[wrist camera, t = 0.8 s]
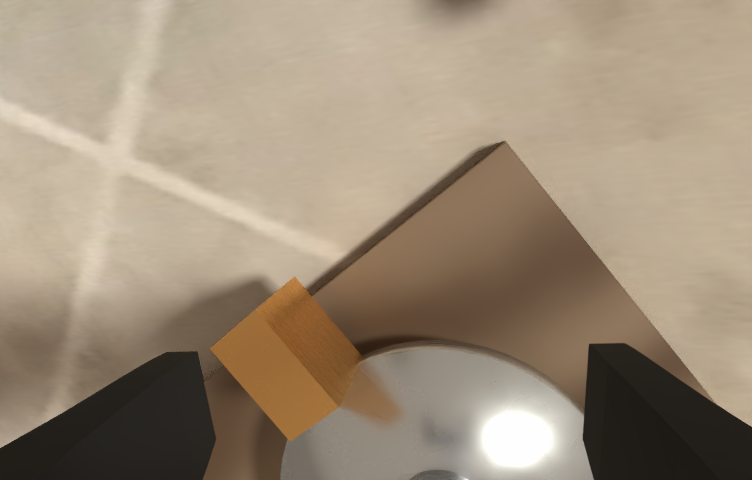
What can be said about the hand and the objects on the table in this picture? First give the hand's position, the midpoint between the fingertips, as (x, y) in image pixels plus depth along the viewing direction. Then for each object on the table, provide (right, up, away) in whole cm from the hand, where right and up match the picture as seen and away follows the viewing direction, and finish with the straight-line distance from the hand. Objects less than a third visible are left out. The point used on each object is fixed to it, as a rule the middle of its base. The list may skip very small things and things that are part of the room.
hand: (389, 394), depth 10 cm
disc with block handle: (+1, -6, +13) cm, 15 cm away
